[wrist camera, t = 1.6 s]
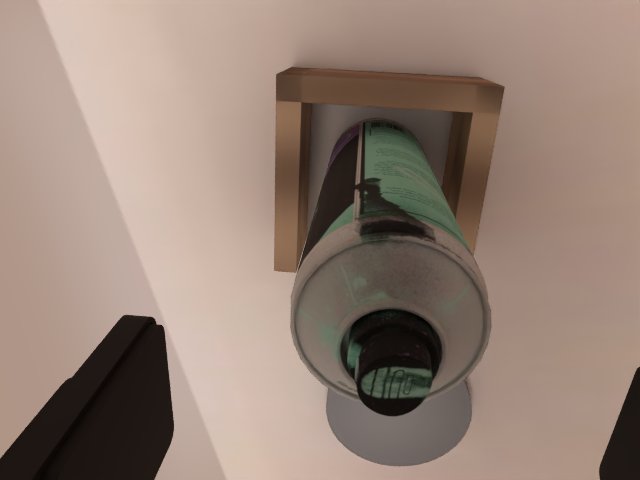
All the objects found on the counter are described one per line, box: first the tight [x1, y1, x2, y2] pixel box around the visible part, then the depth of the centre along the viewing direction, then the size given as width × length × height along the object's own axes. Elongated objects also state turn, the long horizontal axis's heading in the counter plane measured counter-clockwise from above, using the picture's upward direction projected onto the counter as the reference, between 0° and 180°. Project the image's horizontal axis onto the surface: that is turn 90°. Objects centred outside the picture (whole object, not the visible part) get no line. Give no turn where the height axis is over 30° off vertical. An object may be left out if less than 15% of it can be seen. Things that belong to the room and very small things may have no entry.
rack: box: [274, 67, 504, 273], centre depth 27 cm, size 10×10×5 cm
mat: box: [326, 379, 472, 466], centre depth 35 cm, size 10×10×2 cm
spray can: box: [291, 118, 491, 417], centre depth 20 cm, size 6×6×20 cm
